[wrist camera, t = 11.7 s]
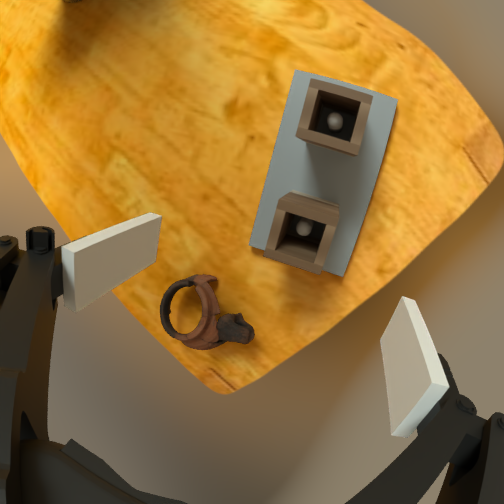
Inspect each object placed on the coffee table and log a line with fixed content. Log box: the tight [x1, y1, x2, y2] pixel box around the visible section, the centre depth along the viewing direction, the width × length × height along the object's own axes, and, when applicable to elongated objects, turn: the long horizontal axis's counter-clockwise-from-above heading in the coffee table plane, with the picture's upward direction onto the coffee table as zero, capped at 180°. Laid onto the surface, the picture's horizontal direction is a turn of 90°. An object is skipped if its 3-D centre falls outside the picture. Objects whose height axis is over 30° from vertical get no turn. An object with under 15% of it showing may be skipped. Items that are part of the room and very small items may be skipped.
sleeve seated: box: [295, 78, 373, 157], centre depth 25 cm, size 5×5×8 cm
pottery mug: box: [160, 275, 255, 350], centre depth 37 cm, size 12×10×8 cm
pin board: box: [249, 70, 398, 277], centre depth 28 cm, size 20×11×7 cm, turn 165°
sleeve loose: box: [263, 190, 339, 275], centre depth 29 cm, size 5×5×8 cm
